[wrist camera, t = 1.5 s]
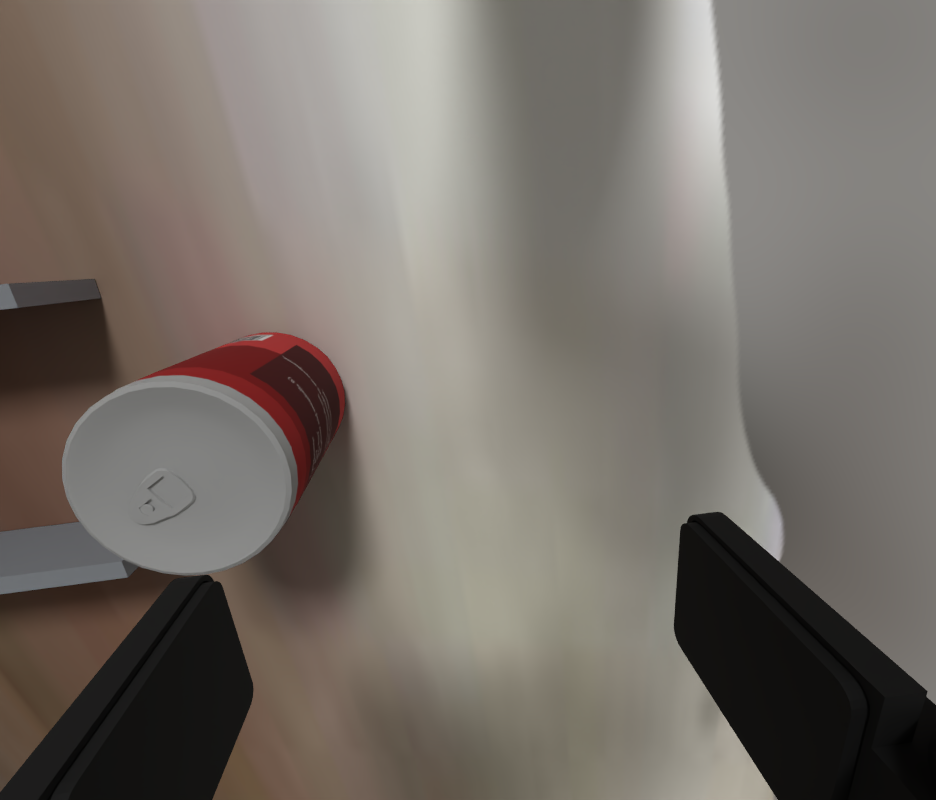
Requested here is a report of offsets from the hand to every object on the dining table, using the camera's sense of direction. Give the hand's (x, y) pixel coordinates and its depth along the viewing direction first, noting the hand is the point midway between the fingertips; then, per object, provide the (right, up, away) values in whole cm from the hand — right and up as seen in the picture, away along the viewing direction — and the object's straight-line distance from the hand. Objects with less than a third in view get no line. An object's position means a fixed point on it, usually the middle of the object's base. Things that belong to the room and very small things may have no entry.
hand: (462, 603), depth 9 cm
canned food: (-11, +4, +17) cm, 21 cm away
